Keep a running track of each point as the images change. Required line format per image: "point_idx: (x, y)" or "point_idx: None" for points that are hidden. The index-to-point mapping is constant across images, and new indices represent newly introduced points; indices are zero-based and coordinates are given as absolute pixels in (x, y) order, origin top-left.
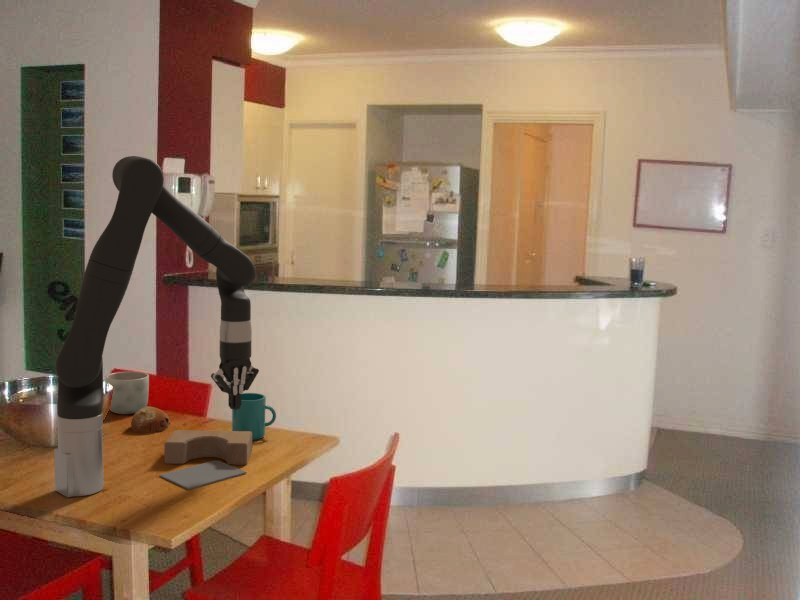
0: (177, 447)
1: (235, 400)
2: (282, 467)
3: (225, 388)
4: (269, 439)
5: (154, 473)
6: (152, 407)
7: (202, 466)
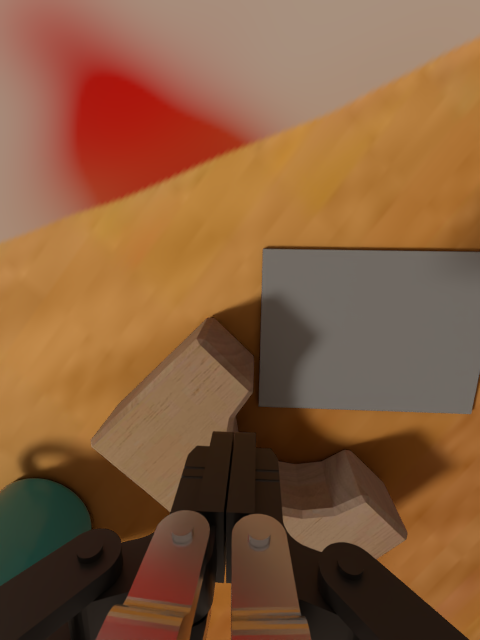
0: (376, 497)
1: (254, 475)
2: (130, 213)
3: (425, 615)
4: (7, 457)
5: (457, 441)
6: None
7: (330, 387)
